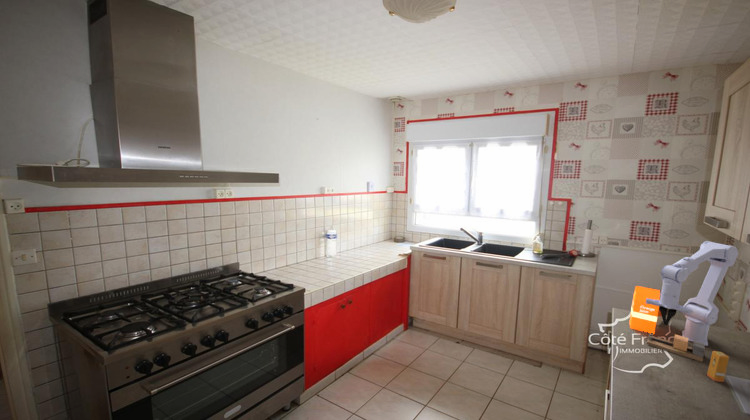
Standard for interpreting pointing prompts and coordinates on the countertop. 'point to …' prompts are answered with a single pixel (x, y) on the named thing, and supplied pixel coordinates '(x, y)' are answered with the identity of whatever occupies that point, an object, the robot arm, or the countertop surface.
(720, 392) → the countertop surface
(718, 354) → the supplement box
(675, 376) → the countertop surface
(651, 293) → the orange juice
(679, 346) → the tan small block
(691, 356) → the cord board
